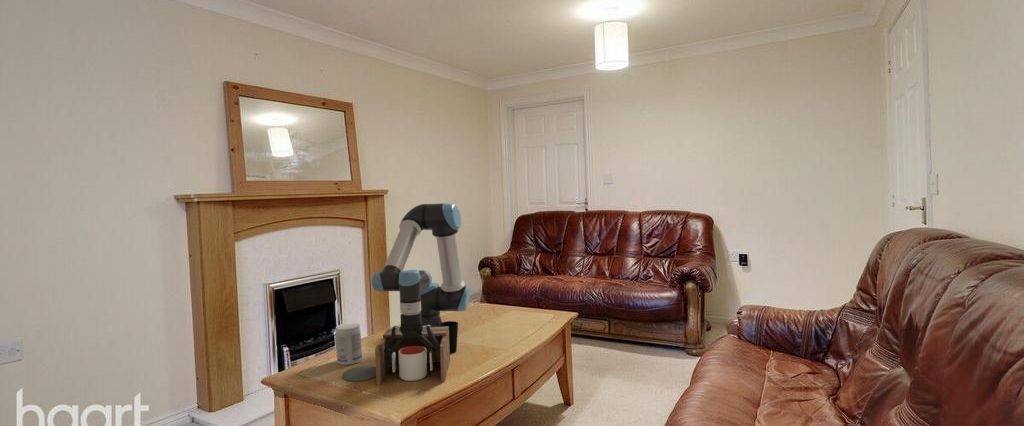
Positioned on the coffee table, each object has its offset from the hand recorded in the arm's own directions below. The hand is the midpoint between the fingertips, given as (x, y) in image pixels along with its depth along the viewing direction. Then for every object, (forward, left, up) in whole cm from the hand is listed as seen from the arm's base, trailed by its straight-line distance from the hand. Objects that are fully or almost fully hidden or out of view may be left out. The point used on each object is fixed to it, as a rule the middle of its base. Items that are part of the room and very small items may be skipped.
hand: (413, 370), depth 179 cm
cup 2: (-27, +11, -3) cm, 29 cm away
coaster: (-5, -20, -3) cm, 21 cm away
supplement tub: (-20, -29, -3) cm, 35 cm away
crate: (-5, 0, -3) cm, 6 cm away
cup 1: (0, 0, -3) cm, 3 cm away
